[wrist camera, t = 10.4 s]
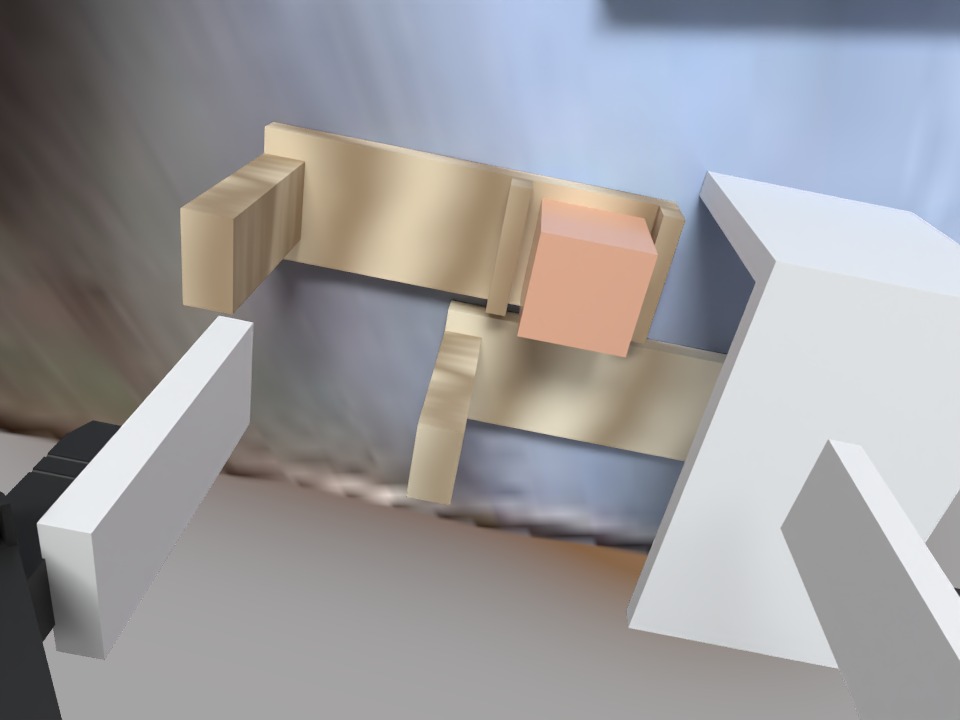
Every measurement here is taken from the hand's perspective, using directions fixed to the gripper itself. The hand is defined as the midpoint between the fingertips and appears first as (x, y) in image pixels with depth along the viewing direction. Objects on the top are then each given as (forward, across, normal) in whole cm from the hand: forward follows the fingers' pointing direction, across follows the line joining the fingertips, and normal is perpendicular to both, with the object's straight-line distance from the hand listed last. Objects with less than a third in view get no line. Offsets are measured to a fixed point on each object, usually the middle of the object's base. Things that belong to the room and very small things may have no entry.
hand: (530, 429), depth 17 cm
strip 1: (+22, -3, -3) cm, 22 cm away
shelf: (+21, +13, -7) cm, 26 cm away
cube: (+20, +3, -3) cm, 21 cm away
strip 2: (+21, +7, -11) cm, 25 cm away
